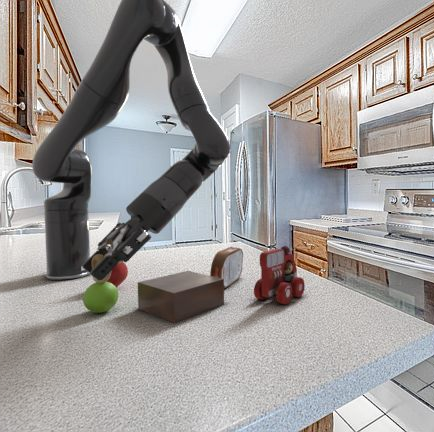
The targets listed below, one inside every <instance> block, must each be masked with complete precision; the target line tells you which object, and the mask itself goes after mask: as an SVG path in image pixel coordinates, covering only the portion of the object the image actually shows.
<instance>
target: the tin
mask: <svg viewBox="0 0 434 432" xmlns="http://www.w3.org/2000/svg"><path fill="white" fill-rule="evenodd" d="M243 263H244V251H243V249H242V248H240V247H236V246H235V247H233V246H229V247H227V248H224V249H222V250H219V251H218V252H216V253H215V255H214V257H213V259H212V262H211V265H210V272H209V273H210V274H209V276H213V277H218V278H222V279H224V289H227V288H228V287H230V286H231V285H233V284H234V283H236V282H237V281H238V280H239V279H240V277H241V275H242V271H243V265H244V264H243Z"/></svg>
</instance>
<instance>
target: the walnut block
mask: <svg viewBox="0 0 434 432" xmlns="http://www.w3.org/2000/svg"><path fill="white" fill-rule="evenodd" d="M223 305H225V288H224V279H222V278H218V277H213V276H210V274H209V275H208V274H204V273H200V272H194V271H192V270H191V271H190V270H186V271H182V272H181V271H180V272H176V273H172V274H168V275H164V276H159V277H155V278H151V279H146V280H142V281H138V282H137V306H138V307H137V308H138V310H140V311H143V312H145V313H148V314H150V315H153V316H155V317H157V318H161V319H163V320H166V321H169V322H171V323H173V324H175V323H178V322H181V321H183V320H186V319H189V318H191V317H194V316H196V315H199V314H202V313H205V312H207V311H210V310H213V309H215V308H218V307H220V306H223Z"/></svg>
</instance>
